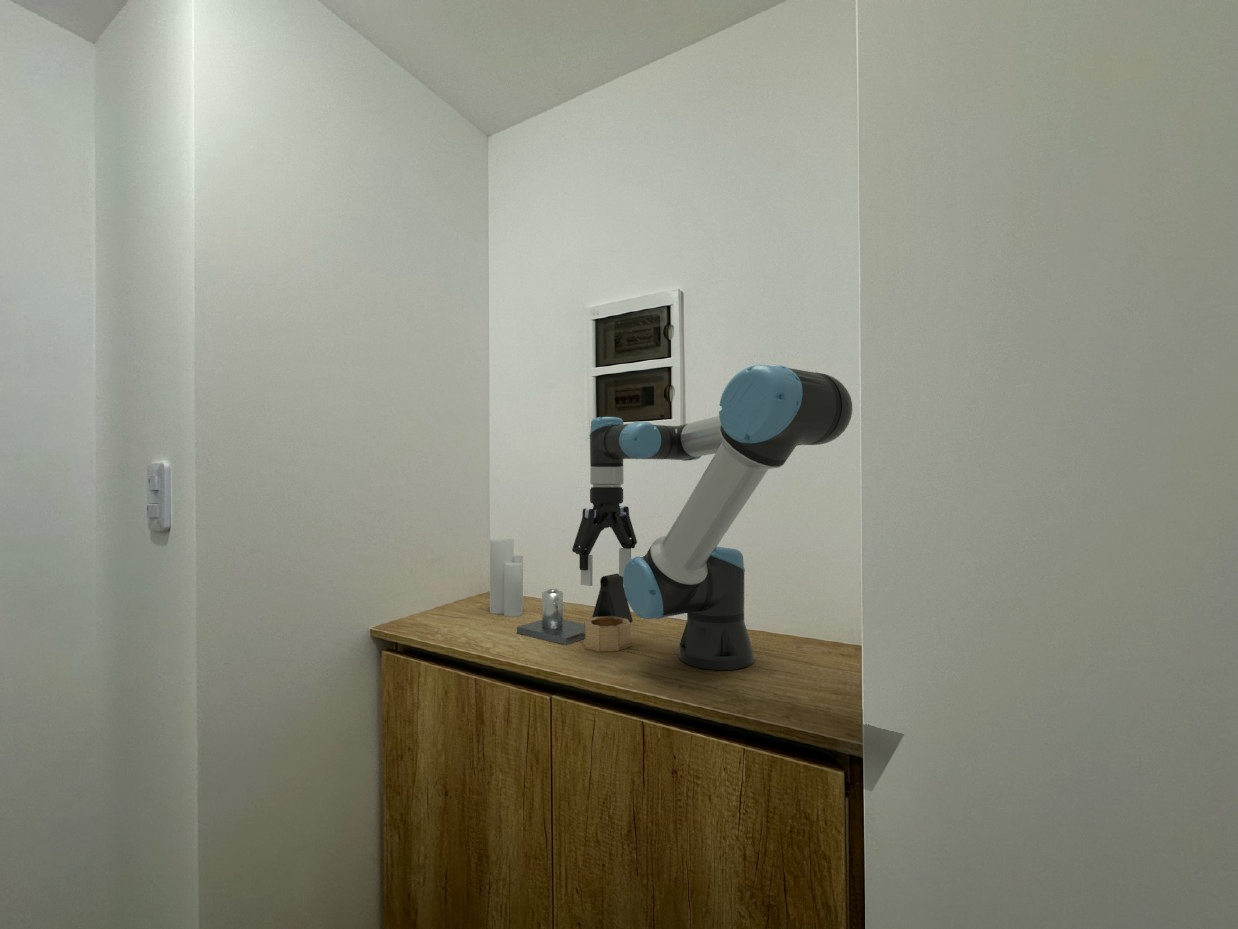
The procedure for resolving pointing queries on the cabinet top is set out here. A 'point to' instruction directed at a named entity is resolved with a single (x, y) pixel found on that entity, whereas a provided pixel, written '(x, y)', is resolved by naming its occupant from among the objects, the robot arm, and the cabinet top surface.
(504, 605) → the candle
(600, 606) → the black triangular stand
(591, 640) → the ring
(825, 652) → the cabinet top surface
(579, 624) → the peg on base plate
